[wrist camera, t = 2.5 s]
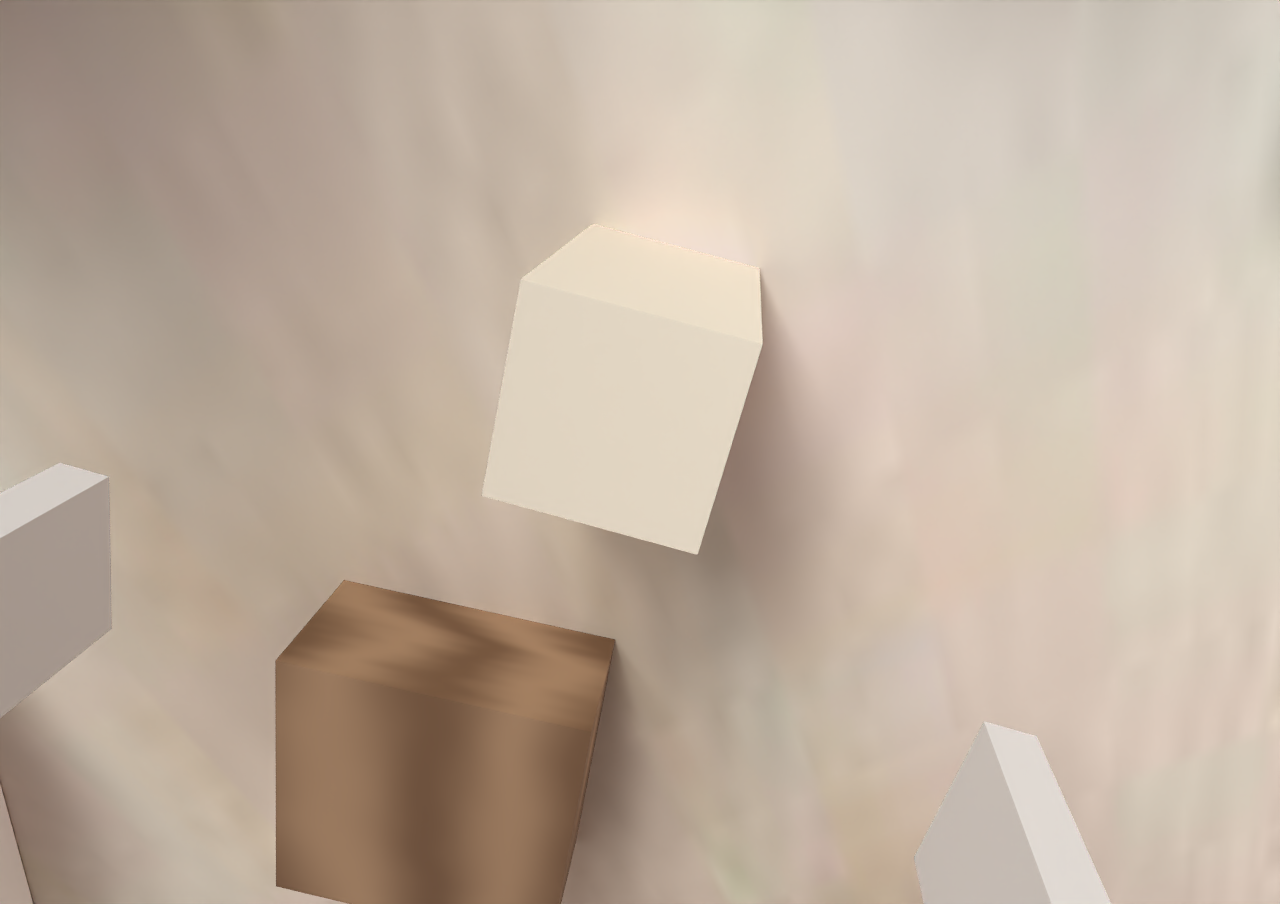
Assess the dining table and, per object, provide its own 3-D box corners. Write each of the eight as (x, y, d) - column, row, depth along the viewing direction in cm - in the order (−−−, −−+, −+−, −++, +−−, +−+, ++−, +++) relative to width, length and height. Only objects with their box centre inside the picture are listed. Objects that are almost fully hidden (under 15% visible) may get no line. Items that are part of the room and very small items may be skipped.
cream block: (559, 381, 32) (481, 495, 23) (592, 223, 29) (520, 278, 20) (713, 423, 32) (697, 555, 23) (759, 267, 29) (762, 344, 20)
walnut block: (339, 782, 42) (276, 886, 36) (346, 576, 37) (275, 660, 31) (576, 837, 41) (549, 951, 35) (616, 636, 36) (591, 732, 31)
